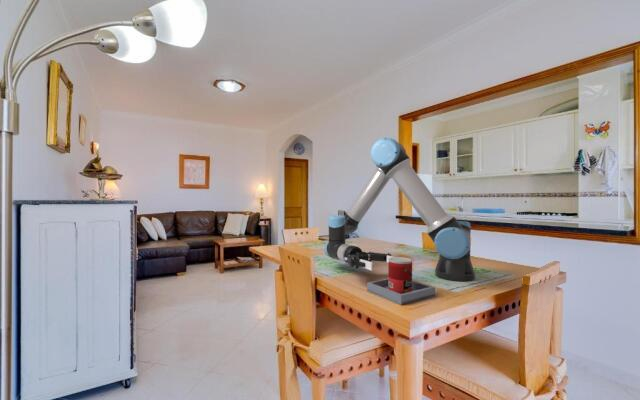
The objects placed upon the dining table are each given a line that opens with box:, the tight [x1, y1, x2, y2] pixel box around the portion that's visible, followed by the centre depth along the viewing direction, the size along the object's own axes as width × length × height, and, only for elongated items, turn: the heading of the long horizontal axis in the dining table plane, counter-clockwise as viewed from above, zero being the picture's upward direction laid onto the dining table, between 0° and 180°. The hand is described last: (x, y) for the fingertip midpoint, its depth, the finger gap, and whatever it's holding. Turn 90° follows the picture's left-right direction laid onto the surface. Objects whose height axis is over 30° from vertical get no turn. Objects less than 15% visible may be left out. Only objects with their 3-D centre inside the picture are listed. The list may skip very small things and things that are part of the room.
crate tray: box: [366, 278, 436, 306], centre depth 105 cm, size 16×16×3 cm
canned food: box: [387, 256, 413, 294], centre depth 105 cm, size 8×8×11 cm
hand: (386, 264), depth 110 cm, fingers open, 13 cm apart
